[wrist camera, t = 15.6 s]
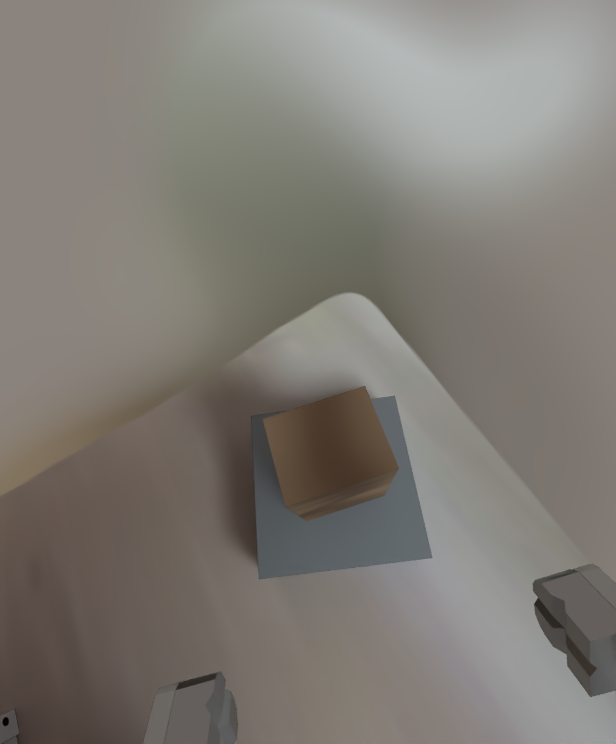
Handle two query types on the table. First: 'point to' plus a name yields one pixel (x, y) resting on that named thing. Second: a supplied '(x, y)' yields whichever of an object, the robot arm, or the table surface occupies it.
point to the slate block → (338, 515)
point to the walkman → (8, 728)
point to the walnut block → (330, 454)
